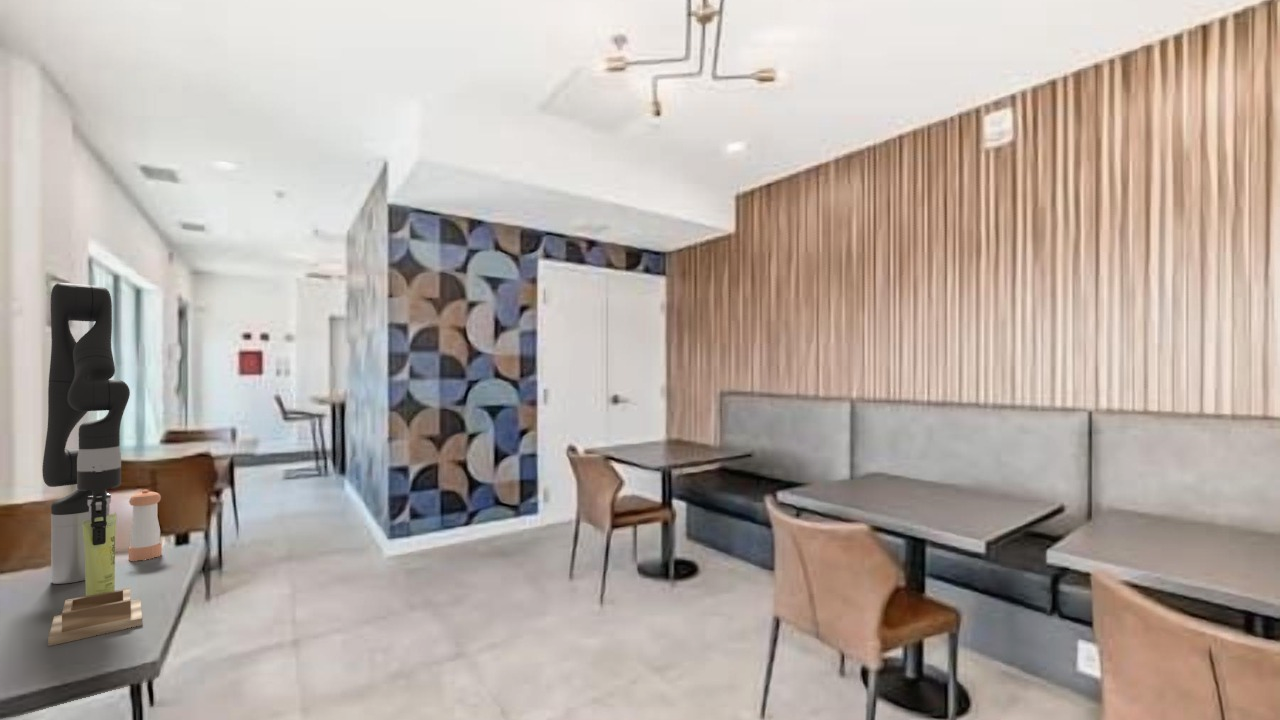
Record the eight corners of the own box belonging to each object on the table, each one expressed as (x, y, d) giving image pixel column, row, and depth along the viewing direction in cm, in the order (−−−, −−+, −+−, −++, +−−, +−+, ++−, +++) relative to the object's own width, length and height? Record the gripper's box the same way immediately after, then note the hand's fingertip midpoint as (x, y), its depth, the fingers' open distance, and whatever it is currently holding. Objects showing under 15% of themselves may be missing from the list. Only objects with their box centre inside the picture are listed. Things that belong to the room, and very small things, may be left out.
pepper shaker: (122, 562, 168) (122, 492, 168) (139, 554, 175) (139, 487, 175) (151, 560, 169) (151, 491, 169) (167, 552, 176) (167, 486, 176)
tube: (112, 603, 137) (112, 517, 137) (82, 609, 134) (82, 520, 134) (116, 596, 142) (116, 512, 142) (87, 600, 139) (87, 515, 139)
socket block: (54, 623, 127) (54, 599, 127) (140, 605, 136) (140, 583, 136) (48, 646, 117) (48, 620, 117) (142, 625, 126) (142, 601, 126)
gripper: (78, 465, 141) (78, 538, 141) (75, 473, 130) (75, 552, 130) (121, 461, 146) (121, 532, 146) (121, 469, 135) (121, 545, 135)
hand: (99, 541), depth 138 cm, fingers closed on tube, 4 cm apart
